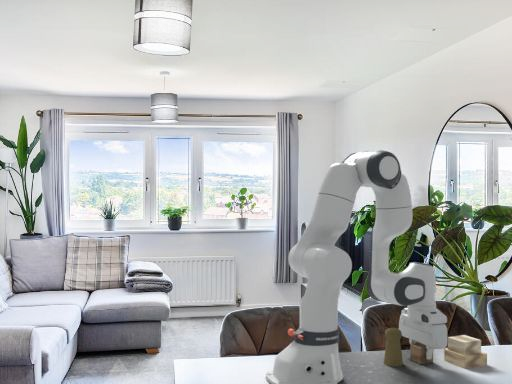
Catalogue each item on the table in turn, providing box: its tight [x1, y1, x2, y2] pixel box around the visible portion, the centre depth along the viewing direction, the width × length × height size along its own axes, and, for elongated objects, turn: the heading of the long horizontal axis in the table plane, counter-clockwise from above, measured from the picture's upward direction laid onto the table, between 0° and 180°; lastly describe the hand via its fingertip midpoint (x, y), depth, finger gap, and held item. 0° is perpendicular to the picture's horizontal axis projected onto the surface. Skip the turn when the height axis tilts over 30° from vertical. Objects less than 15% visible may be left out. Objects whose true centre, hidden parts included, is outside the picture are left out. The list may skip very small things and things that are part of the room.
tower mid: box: [447, 334, 482, 355], centre depth 175 cm, size 7×7×4 cm
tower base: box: [443, 348, 488, 369], centre depth 175 cm, size 9×9×4 cm
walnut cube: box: [409, 342, 434, 365], centre depth 176 cm, size 5×5×5 cm
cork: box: [383, 327, 404, 368], centre depth 174 cm, size 6×6×11 cm
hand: (421, 356), depth 176 cm, fingers closed on walnut cube, 5 cm apart
